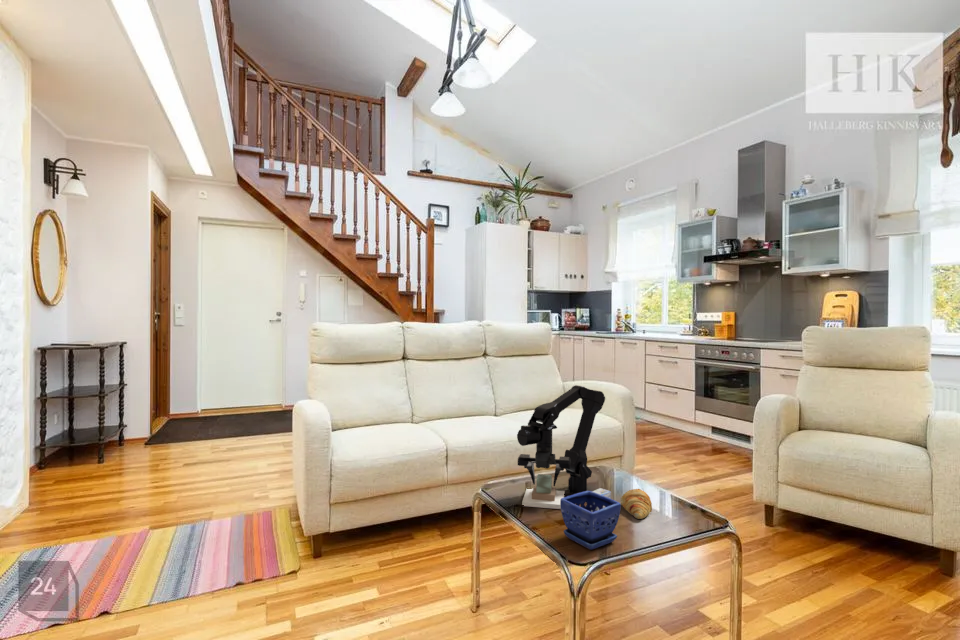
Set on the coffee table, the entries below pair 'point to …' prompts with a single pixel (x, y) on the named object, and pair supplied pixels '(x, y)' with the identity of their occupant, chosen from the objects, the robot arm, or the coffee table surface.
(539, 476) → the sage cube
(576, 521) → the flower pot
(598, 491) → the medicine box
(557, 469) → the robot arm
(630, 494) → the croissant
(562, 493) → the baseboard
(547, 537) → the coffee table surface
